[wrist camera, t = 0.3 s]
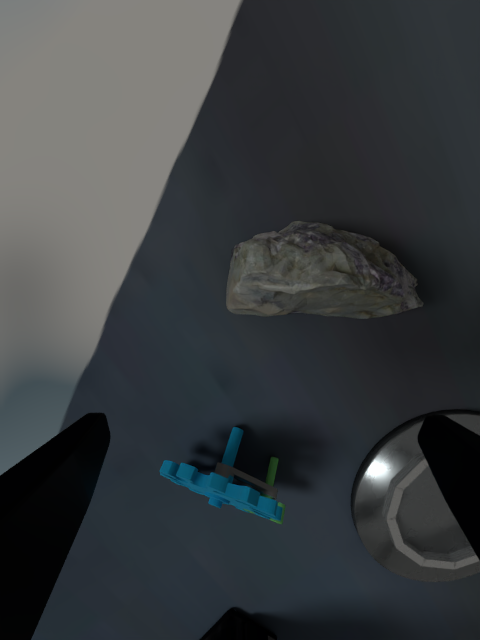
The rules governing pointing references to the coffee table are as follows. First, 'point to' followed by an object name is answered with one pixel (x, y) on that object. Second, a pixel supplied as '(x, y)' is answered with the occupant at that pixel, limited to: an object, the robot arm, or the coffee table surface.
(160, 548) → the coffee table surface
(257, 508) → the blue piece
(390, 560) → the carrier plate
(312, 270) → the mineral rock
